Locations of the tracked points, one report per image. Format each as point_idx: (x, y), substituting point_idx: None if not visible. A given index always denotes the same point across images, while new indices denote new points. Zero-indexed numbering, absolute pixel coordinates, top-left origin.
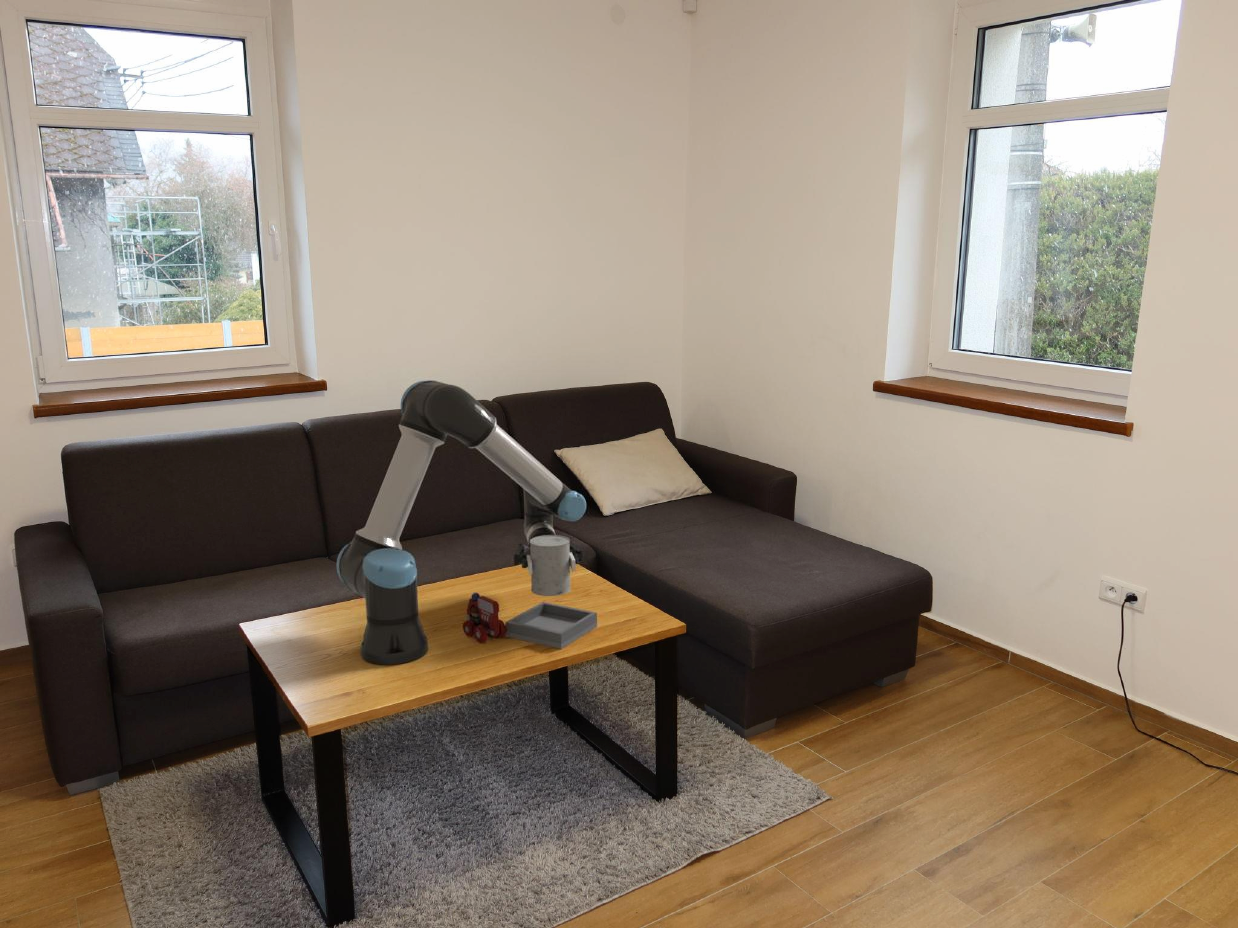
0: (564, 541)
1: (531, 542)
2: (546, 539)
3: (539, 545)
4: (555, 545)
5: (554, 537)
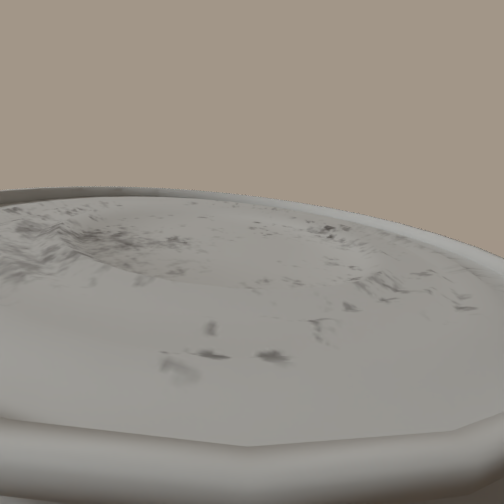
0: (52, 210)
1: (462, 261)
2: (274, 279)
3: (332, 220)
4: (199, 199)
5: (65, 292)
